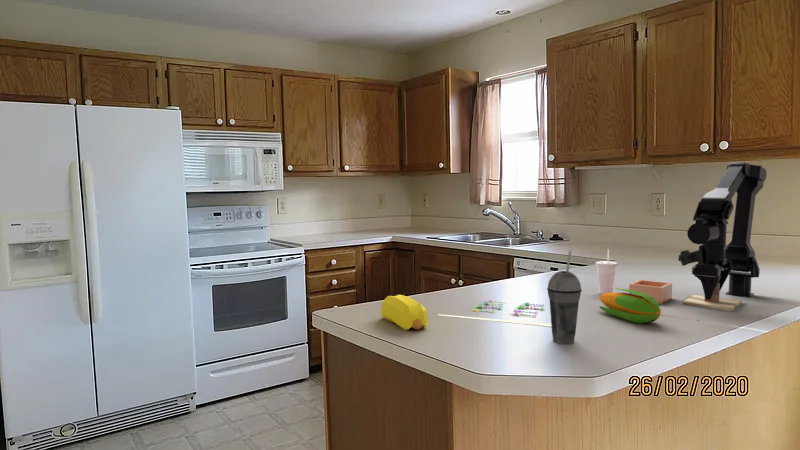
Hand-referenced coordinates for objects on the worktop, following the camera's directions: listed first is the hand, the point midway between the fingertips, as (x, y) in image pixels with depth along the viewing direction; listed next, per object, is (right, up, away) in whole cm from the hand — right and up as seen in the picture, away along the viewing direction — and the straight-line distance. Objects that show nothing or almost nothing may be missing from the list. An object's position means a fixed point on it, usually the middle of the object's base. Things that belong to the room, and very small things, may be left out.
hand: (712, 297), depth 150 cm
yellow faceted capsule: (-86, -5, -15) cm, 88 cm away
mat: (0, -2, 0) cm, 2 cm away
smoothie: (-23, -1, +18) cm, 29 cm away
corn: (-29, -4, -12) cm, 32 cm away
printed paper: (-57, -4, 0) cm, 57 cm away
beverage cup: (-51, -6, -31) cm, 60 cm away
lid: (0, -2, 0) cm, 2 cm away
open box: (-14, -2, +7) cm, 16 cm away
